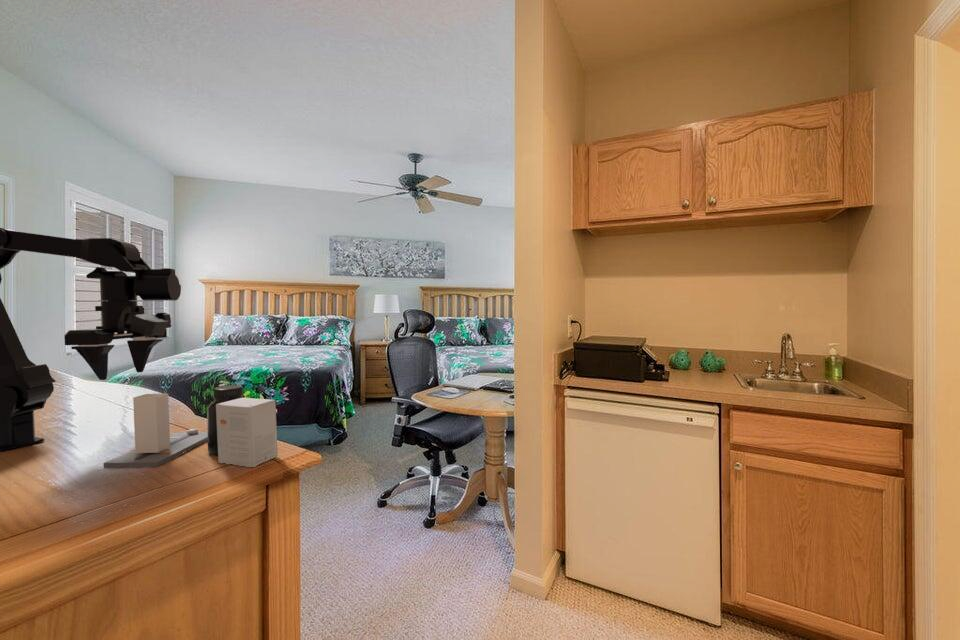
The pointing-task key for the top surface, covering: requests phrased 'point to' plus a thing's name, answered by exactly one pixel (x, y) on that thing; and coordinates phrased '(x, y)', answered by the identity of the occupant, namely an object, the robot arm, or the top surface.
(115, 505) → the top surface
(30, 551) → the top surface
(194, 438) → the board
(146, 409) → the fader tab
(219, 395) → the supplement bottle
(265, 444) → the small box
